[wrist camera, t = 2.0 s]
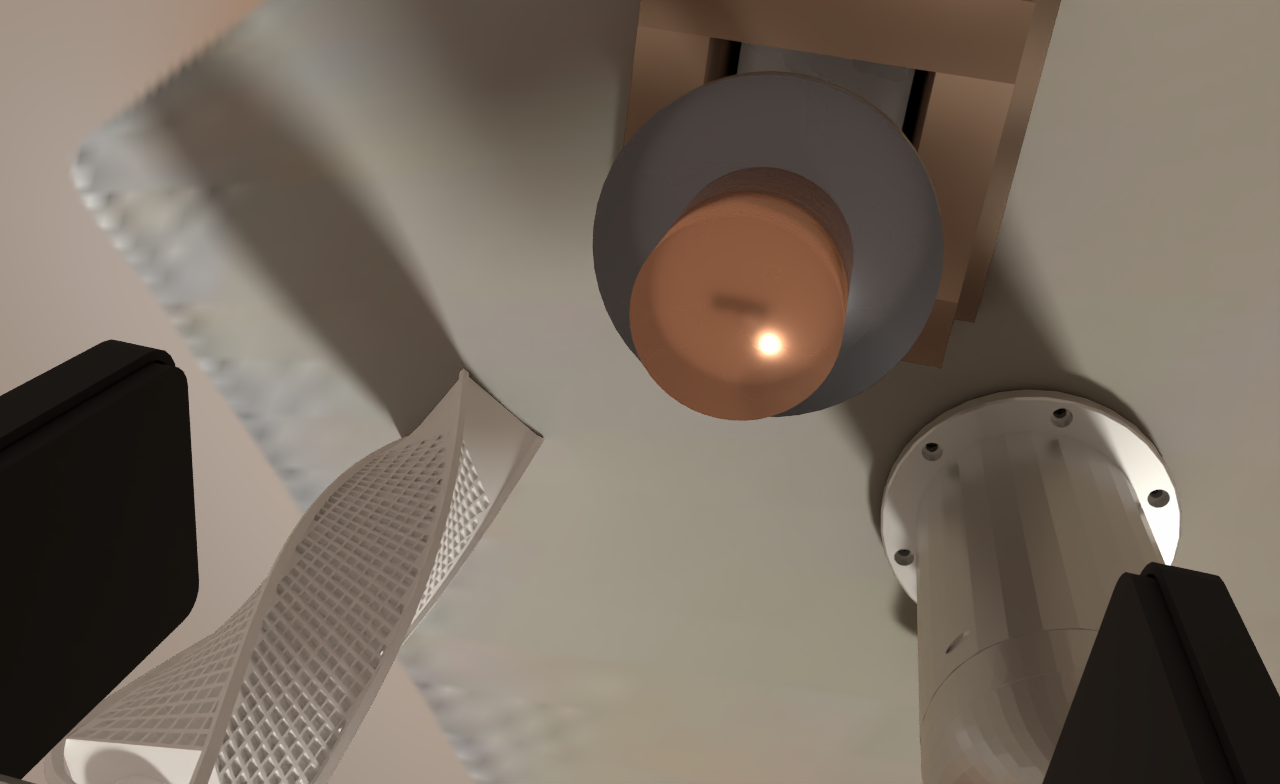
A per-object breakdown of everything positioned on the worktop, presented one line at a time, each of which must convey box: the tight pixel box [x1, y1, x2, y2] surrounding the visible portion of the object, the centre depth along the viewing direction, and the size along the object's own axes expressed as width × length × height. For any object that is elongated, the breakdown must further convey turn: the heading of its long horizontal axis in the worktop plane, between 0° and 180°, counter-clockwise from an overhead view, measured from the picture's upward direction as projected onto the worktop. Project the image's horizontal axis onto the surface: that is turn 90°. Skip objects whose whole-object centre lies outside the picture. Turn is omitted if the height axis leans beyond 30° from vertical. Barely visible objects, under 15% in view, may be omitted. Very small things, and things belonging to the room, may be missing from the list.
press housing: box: [623, 0, 1061, 368], centre depth 37 cm, size 16×15×16 cm
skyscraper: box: [44, 368, 544, 784], centre depth 41 cm, size 8×8×28 cm
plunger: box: [593, 42, 944, 421], centre depth 26 cm, size 7×7×18 cm
